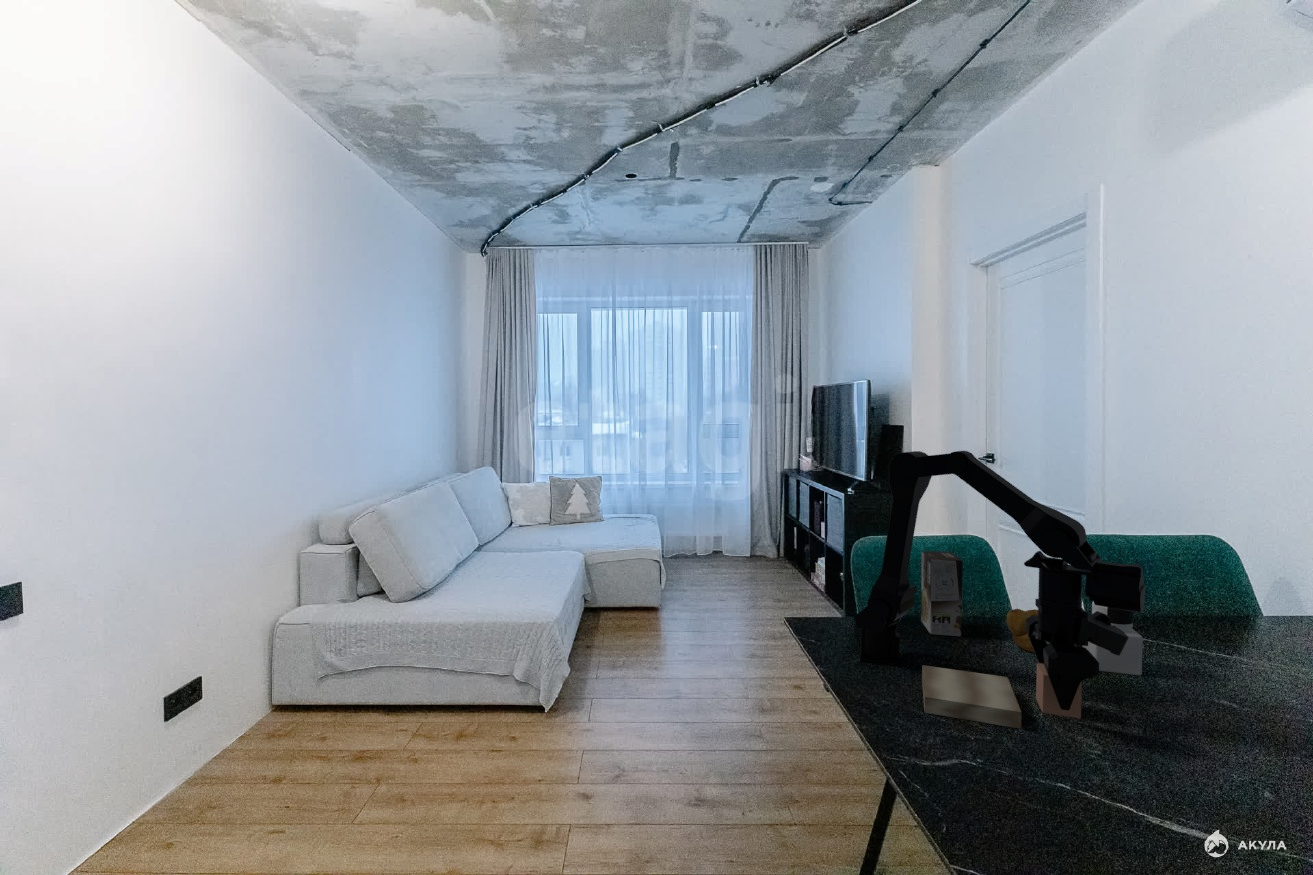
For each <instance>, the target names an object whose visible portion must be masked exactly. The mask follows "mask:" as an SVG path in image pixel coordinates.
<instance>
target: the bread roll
mask: <svg viewBox="0 0 1313 875" xmlns="http://www.w3.org/2000/svg"><path fill="white" fill-rule="evenodd" d="M1031 615H1038V609H1028V610H1023V609H1020V608H1018V607H1017V608H1014V609H1011V610H1010V611H1009V612H1008V613H1007V614H1006V624H1007V627H1008V629H1009V631H1010V632H1011V635H1012V639H1013V642H1014V644H1015V645H1016V646H1018V647H1019V648H1021V649H1022V650H1025V651H1027V652H1031V653H1034V650H1033V648H1032V645H1031V643H1030V640H1029V638H1028V633H1027V631H1026V619H1027V618H1028V617H1030V616H1031Z"/></svg>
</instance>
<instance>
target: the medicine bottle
mask: <svg viewBox="0 0 1313 875" xmlns="http://www.w3.org/2000/svg"><path fill="white" fill-rule="evenodd" d="M1091 604H1092V605H1091V615H1092V614H1093V613H1095V612H1096V611H1099V612H1101V613H1104V614H1106V615H1107V616H1108V617H1109V618H1110V620H1111V625H1112V626H1113V625H1114V626H1116V627H1117V628H1119V629H1120V630H1122V631H1123V632H1124V633H1125V634H1126V635H1127V636H1128V637H1129V638H1128V640H1127V642H1126V644H1125V646H1124V648H1123V650H1122V652H1121V654H1120V656H1118V655H1115V654H1112V653H1111V652H1110V651H1109V650H1106V649H1104V648H1102V647H1099V646H1097V645H1094V644H1092V643H1090V642H1088V646H1082V647H1085V648H1086V649H1087V650H1088V651H1089V652H1090V653H1091V654H1092V655H1093V656H1094V657H1095V658H1096V660H1097V661H1098V662H1099V672H1105V673H1106V672H1107V673H1108V672H1109V673H1116V674H1123V675H1124V674H1126V675H1133V676H1142V674H1143V644H1144V642H1143V640H1144V639H1143V636H1142V635H1141V634H1139V633H1138V632H1137V631H1135V629H1134V628H1133V626H1134V612H1132V611H1126V610H1121V609H1115V608H1109V607H1104V606H1098V605H1095V604H1094V601H1092V603H1091Z"/></svg>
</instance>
